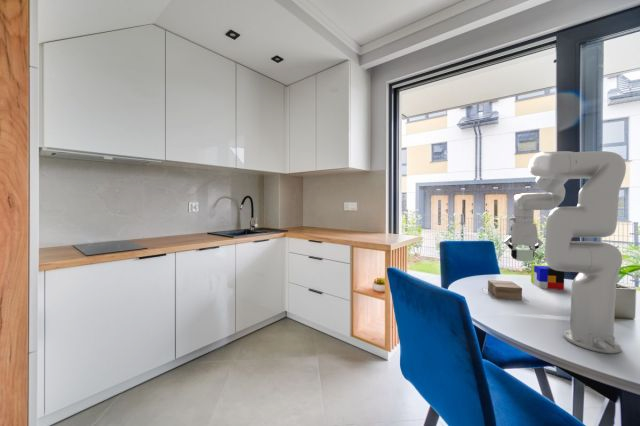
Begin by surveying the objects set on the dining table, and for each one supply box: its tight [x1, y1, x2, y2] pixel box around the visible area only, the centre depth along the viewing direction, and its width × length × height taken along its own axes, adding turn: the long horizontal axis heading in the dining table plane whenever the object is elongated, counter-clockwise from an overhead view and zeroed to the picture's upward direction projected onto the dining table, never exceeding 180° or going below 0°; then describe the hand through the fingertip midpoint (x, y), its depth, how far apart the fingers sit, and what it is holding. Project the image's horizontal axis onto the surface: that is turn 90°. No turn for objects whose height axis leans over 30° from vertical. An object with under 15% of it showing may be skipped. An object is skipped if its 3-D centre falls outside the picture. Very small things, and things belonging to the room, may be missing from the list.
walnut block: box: [487, 279, 523, 300], centre depth 122 cm, size 10×10×5 cm
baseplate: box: [482, 288, 530, 303], centre depth 123 cm, size 14×14×1 cm
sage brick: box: [512, 247, 534, 262], centre depth 126 cm, size 6×6×5 cm
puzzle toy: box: [530, 263, 565, 291], centre depth 138 cm, size 10×10×10 cm
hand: (522, 258), depth 126 cm, fingers closed on sage brick, 6 cm apart
